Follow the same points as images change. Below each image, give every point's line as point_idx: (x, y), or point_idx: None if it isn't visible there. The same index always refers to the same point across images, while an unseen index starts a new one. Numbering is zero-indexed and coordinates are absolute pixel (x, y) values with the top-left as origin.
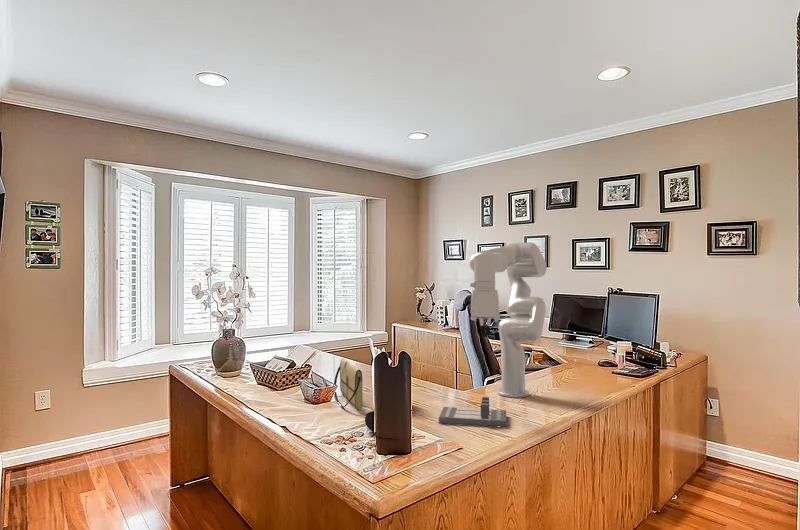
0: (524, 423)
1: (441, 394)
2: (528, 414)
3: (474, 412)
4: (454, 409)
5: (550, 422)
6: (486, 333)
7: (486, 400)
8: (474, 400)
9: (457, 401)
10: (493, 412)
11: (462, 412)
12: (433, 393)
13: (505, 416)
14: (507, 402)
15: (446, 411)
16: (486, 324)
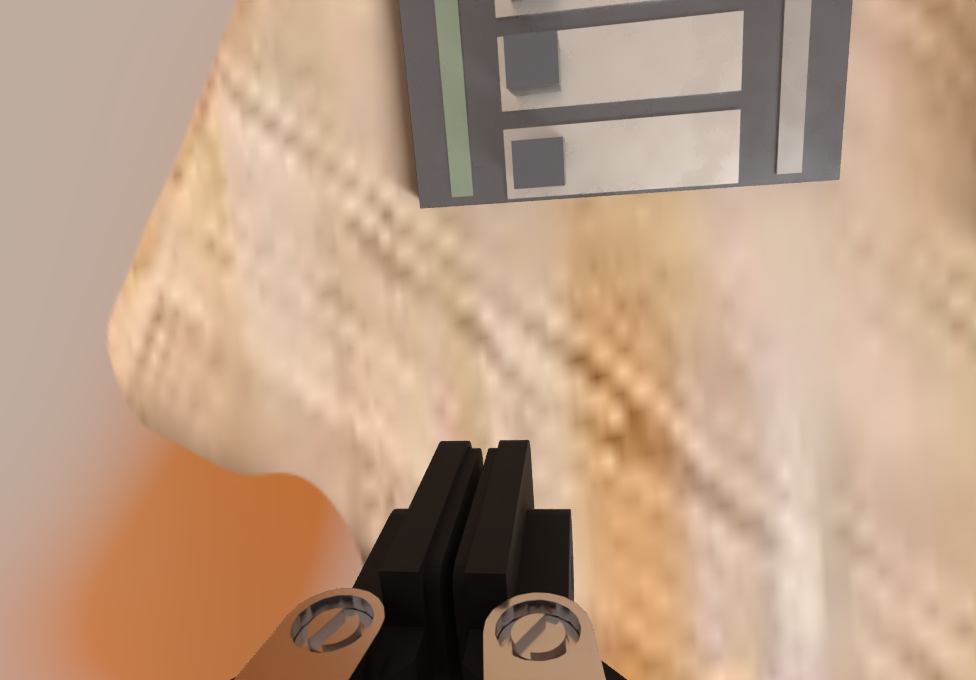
0: (316, 82)
1: (868, 590)
2: (314, 270)
3: (610, 75)
4: (756, 134)
5: (190, 145)
6: (448, 471)
7: (522, 70)
8: (643, 492)
9: (749, 452)
10: (491, 132)
11: (693, 49)
12: (926, 605)
13: (410, 61)
14: None
15: (811, 65)
16: (401, 657)
